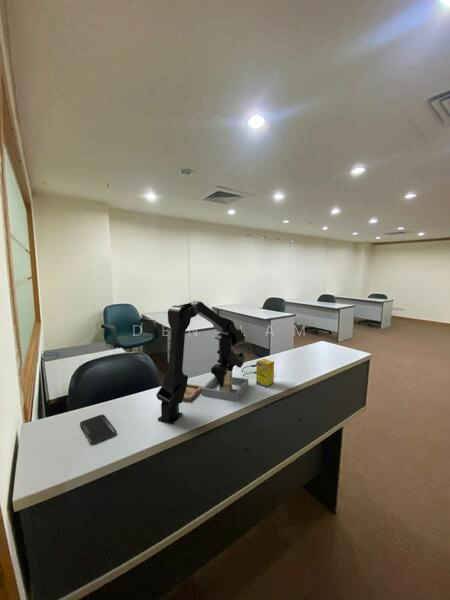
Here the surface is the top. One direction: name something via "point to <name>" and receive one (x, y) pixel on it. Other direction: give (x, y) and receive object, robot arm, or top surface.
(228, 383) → the maple block
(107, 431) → the phone
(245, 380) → the slate bin
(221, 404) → the top surface
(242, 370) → the sunglasses
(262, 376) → the supplement box
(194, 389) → the walnut tray
